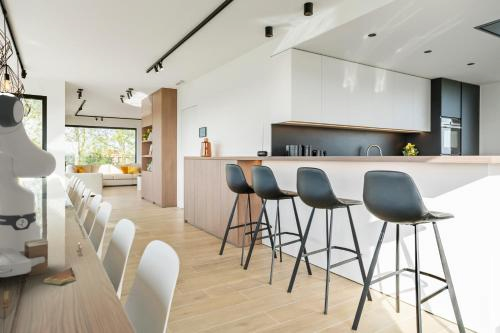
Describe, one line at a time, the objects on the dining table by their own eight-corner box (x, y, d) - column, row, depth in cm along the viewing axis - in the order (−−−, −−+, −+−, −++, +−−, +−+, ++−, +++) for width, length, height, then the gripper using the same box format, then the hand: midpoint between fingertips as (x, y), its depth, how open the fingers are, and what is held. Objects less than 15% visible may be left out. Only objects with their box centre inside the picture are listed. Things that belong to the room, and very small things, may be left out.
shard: (71, 271, 104) (71, 266, 104) (91, 274, 103) (91, 268, 102) (42, 284, 94) (42, 278, 94) (64, 287, 92) (64, 281, 92)
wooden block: (24, 272, 102) (24, 240, 102) (42, 268, 106) (42, 237, 106) (29, 276, 99) (29, 243, 98) (47, 272, 102) (47, 240, 102)
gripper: (-8, 263, 85) (50, 252, 96) (-24, 248, 99) (29, 240, 109) (-8, 286, 86) (50, 273, 96) (-24, 268, 99) (29, 258, 109)
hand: (39, 255), depth 103 cm, fingers open, 8 cm apart
